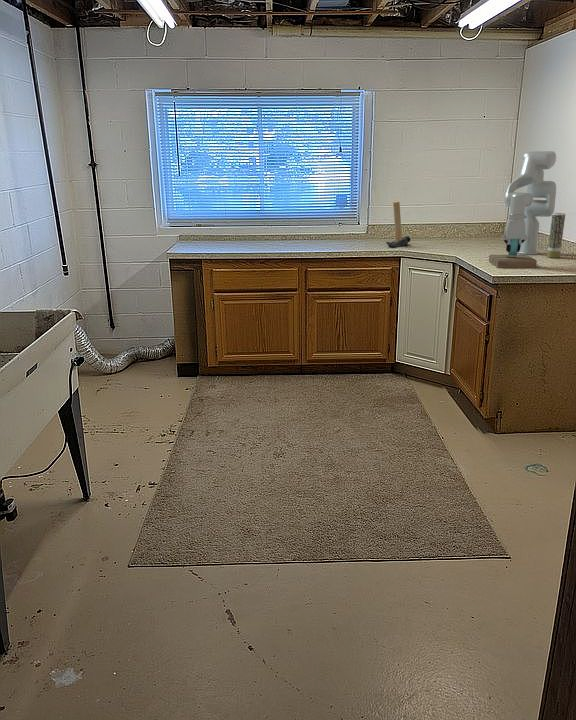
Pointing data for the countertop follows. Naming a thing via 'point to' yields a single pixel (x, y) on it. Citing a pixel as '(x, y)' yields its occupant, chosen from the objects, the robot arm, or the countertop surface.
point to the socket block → (512, 261)
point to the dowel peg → (513, 247)
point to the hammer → (398, 228)
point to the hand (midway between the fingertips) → (512, 251)
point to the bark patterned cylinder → (556, 235)
